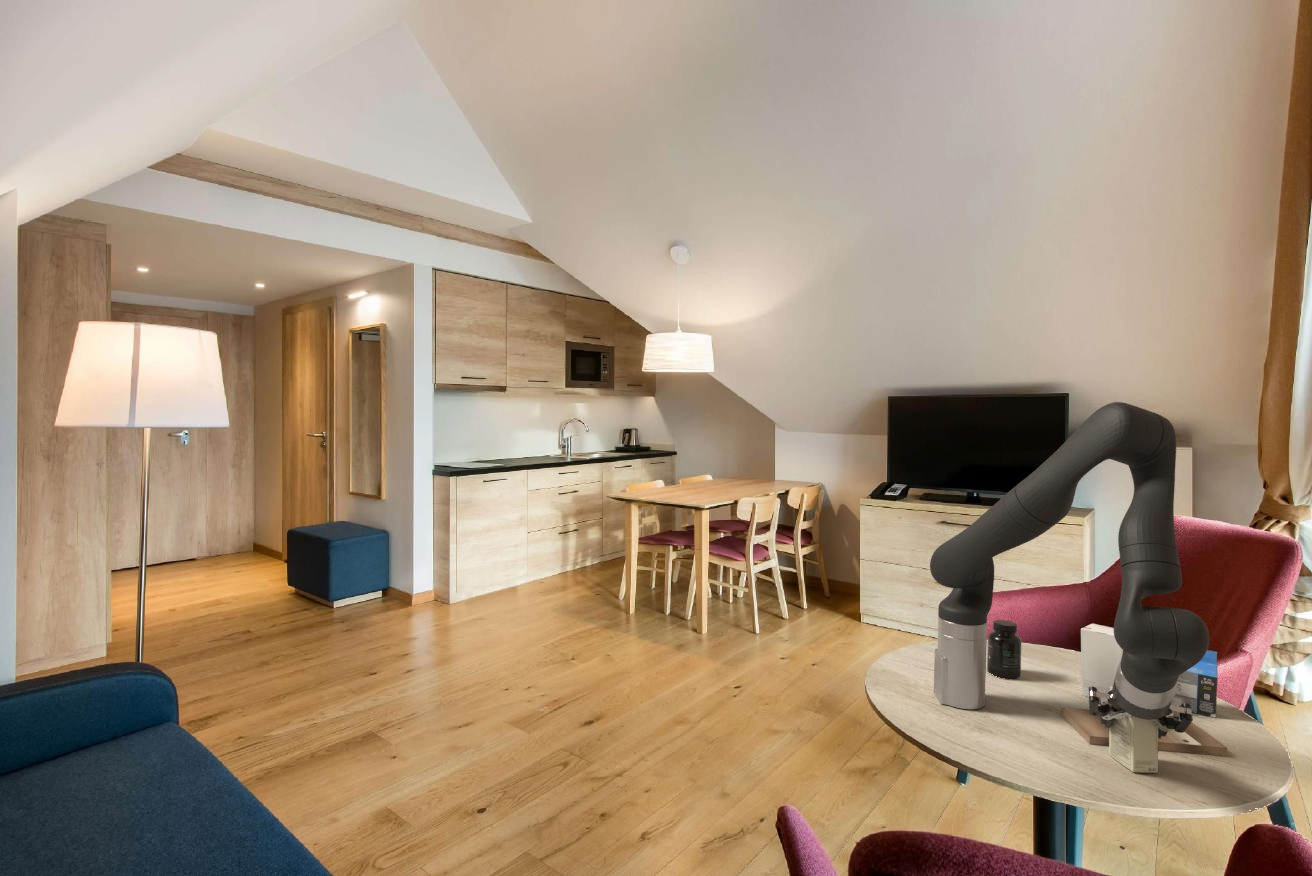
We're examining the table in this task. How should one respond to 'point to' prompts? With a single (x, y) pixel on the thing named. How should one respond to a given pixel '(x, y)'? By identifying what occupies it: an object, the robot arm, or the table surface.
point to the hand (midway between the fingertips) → (1131, 727)
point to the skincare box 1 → (1099, 658)
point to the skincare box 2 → (1134, 743)
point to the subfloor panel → (1173, 741)
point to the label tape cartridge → (1199, 686)
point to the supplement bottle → (1004, 650)
